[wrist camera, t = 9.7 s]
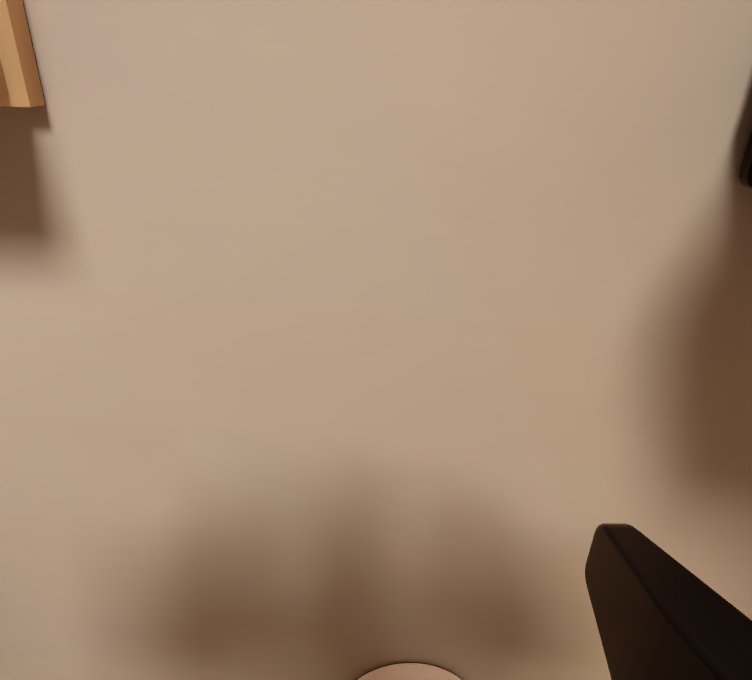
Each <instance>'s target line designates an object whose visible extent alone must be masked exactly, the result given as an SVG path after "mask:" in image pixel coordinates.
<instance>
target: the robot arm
mask: <svg viewBox="0 0 752 680" xmlns="http://www.w3.org/2000/svg"><path fill="white" fill-rule="evenodd" d="M739 178H740V181H741V183H742V184H743V185H744V186H746V187H749V188H752V134H751V137H750V140H749V143H748V146H747V150H746V153H745V156H744V159H743V162H742V166H741V169H740V174H739ZM585 578H586V584H587V588H588V592H589V596H590V599H591V603H592V607H593V611H594V615H595V618H596V622H597V626H598V630H599V634H600V637H601V641H602V645H603V649H604V652H605V656H606V660H607V664H608V668H609V671H610V675H611V679H612V680H752V620H750V619H749V618H748V617H747V616H745V615H744V614H743V613H742V612H740V611H739V610H738V609H737V608H735V607H734V606H733V605H732V604H730V603H729V602H728V601H727V600H725V599H724V598H723V597H721V596H720V595H719V594H718V593H716V592H715V591H714V590H713V589H711V588H710V587H709V586H708V585H706V584H705V583H704V582H703V581H701V580H700V579H699V578H698V577H696V576H695V575H694V574H692V573H691V572H690V571H689V570H687V569H686V568H685V567H684V566H682V565H681V564H680V563H679V562H677V561H676V560H675V559H674V558H672V557H671V556H670V555H669V554H667V553H666V552H665V551H663V550H662V549H661V548H660V547H658V546H657V545H656V544H655V543H653V542H652V541H651V540H650V539H648V538H647V537H646V536H645V535H643V534H642V533H641V532H640V531H638V530H637V529H636V528H634V527H633V526H631V525H628V524H601V525H599V526H598V527H597V528H596V531H595V533H594V537H593V540H592V544H591V548H590V551H589V555H588V558H587V562H586V567H585Z"/></svg>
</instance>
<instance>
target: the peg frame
mask: <svg viewBox="0 0 752 680" xmlns="http://www.w3.org/2000/svg"><path fill="white" fill-rule="evenodd" d="M44 105H45V102H44V97H43V93H42V88H41V84H40V79H39V74H38V70H37V65H36V61H35V56H34V52H33V47H32V42H31V38H30V33H29V29H28V24H27V20H26V15H25V10H24V6H23V1H22V0H0V106H4V107H36V106H44Z"/></svg>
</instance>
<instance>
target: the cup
mask: <svg viewBox="0 0 752 680" xmlns="http://www.w3.org/2000/svg"><path fill="white" fill-rule="evenodd" d="M358 680H461V679H460V678H458V677H457V676H456V675H454V674H452V673H451V672H449V671H446V670H444V669H442V668H439V667H436V666H432V665H427V664H420V663H401V664H394V665H389V666H385V667H381V668H378V669H376V670H373V671H371V672H369V673H367V674H365V675H364V676H362V677H361V678H359V679H358Z"/></svg>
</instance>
